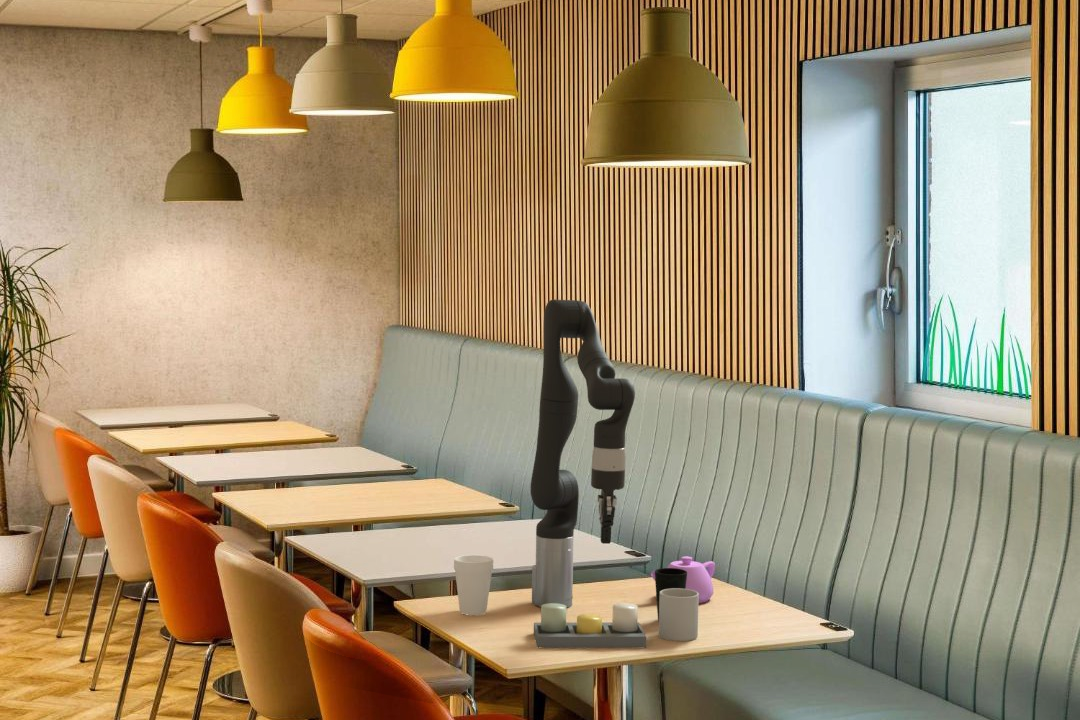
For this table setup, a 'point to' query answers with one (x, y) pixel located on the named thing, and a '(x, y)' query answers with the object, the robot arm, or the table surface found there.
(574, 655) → the table surface
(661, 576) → the cup
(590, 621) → the mustard button
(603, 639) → the grey compartment tray
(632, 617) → the offwhite button
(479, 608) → the foam cup
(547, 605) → the sage button
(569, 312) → the robot arm
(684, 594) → the mug
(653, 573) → the teapot
